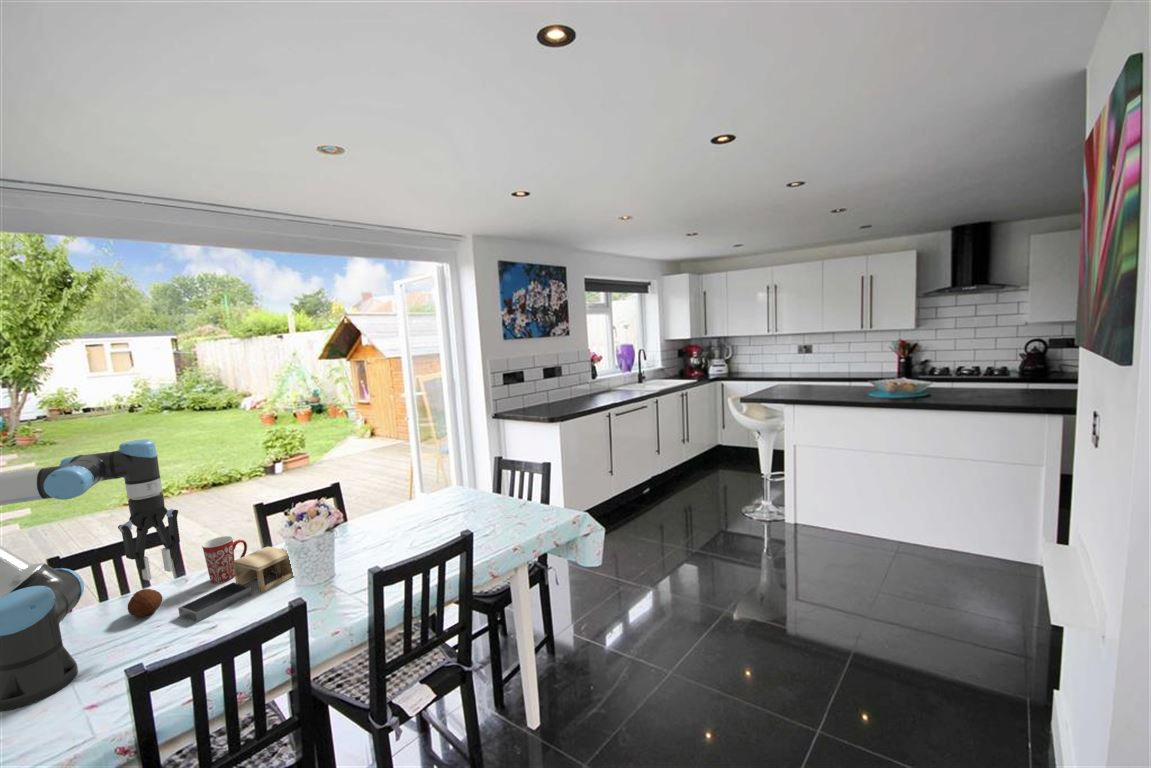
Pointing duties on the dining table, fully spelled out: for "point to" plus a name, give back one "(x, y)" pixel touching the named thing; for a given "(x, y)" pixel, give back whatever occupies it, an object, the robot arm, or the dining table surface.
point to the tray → (214, 602)
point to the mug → (221, 557)
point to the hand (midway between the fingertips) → (158, 574)
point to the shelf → (263, 567)
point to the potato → (144, 602)
